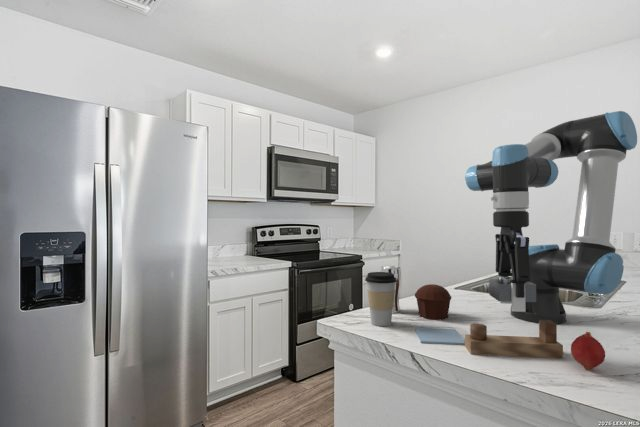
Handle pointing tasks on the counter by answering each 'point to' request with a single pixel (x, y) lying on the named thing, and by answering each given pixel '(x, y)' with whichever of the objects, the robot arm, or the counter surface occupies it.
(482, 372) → the counter surface
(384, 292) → the coffee cup
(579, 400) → the counter surface
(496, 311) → the counter surface
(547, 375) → the counter surface
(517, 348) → the wooden block with pegs
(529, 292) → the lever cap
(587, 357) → the onion
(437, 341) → the mat
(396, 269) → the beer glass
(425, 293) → the muffin
